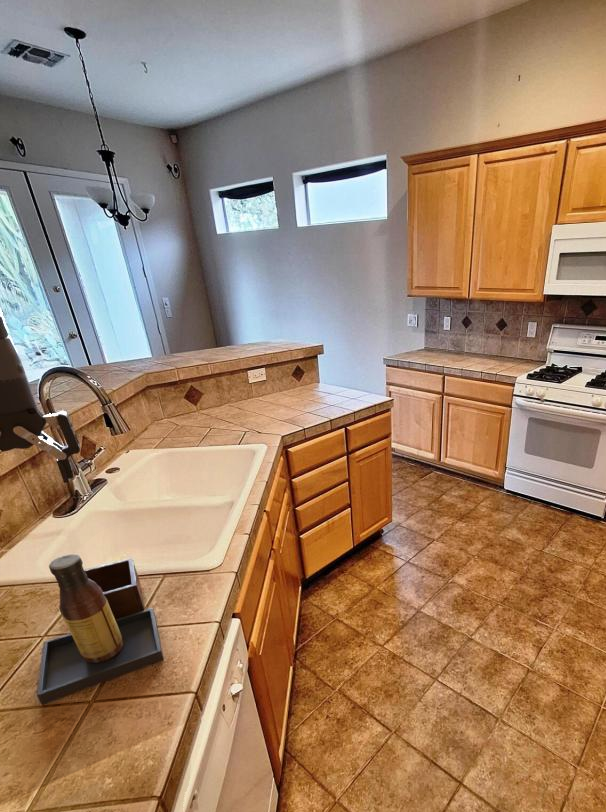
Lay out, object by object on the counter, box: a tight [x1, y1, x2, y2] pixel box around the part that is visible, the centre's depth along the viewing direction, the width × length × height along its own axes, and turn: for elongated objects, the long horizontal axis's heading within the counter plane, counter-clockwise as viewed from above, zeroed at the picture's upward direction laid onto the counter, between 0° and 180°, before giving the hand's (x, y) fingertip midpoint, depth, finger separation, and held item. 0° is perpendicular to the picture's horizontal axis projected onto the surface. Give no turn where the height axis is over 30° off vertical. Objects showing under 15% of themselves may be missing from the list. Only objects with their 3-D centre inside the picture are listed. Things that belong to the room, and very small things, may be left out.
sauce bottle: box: [48, 553, 123, 663], centre depth 71 cm, size 6×6×20 cm
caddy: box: [84, 557, 146, 619], centre depth 86 cm, size 10×11×7 cm
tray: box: [36, 607, 165, 705], centre depth 75 cm, size 17×13×2 cm
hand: (32, 486), depth 63 cm, fingers open, 8 cm apart
